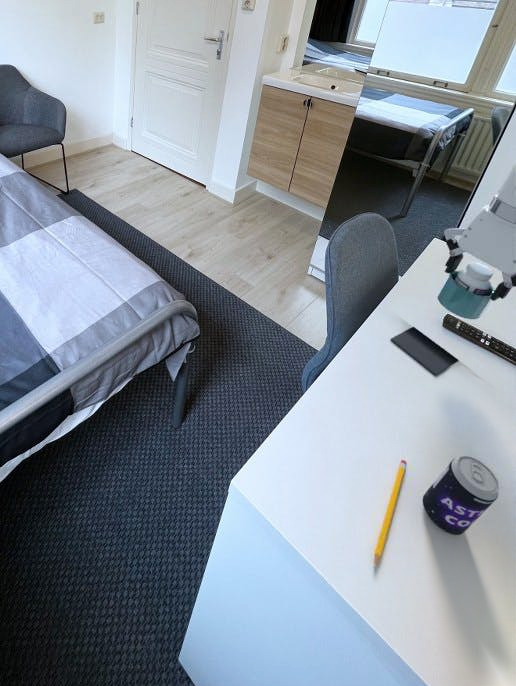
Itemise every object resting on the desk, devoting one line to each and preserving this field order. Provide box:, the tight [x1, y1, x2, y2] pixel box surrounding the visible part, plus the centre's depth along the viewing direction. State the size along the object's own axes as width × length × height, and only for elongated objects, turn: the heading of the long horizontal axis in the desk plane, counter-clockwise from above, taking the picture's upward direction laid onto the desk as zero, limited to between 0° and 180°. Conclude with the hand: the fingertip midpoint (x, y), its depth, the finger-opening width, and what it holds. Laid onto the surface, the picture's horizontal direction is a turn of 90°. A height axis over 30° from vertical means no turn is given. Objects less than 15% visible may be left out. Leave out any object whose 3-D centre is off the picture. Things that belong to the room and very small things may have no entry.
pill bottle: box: [454, 261, 494, 296], centre depth 85 cm, size 5×5×10 cm
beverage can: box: [422, 455, 500, 536], centre depth 63 cm, size 6×6×12 cm
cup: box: [436, 270, 495, 320], centre depth 86 cm, size 8×8×6 cm
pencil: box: [373, 459, 408, 568], centre depth 65 cm, size 1×19×1 cm, turn 137°
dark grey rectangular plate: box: [390, 326, 459, 376], centre depth 95 cm, size 10×14×1 cm
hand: (471, 283), depth 85 cm, fingers closed on cup, 7 cm apart
